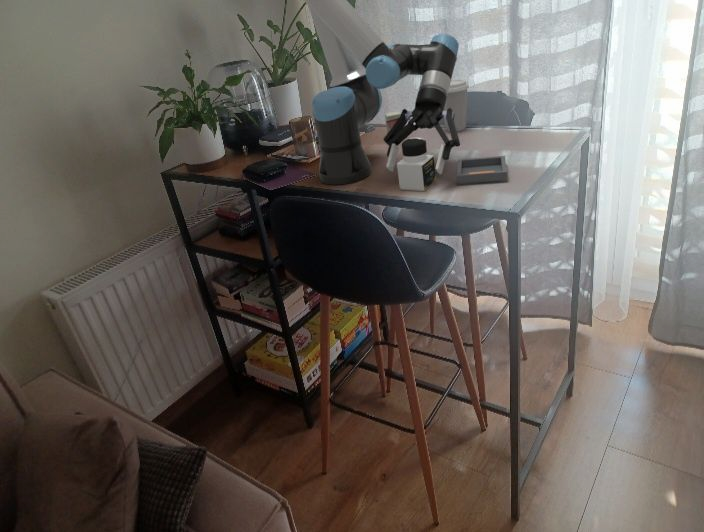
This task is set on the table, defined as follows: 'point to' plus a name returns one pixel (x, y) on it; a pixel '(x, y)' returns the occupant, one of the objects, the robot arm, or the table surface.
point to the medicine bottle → (416, 166)
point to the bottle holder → (481, 170)
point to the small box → (391, 119)
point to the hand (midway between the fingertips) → (413, 170)
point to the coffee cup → (457, 103)
